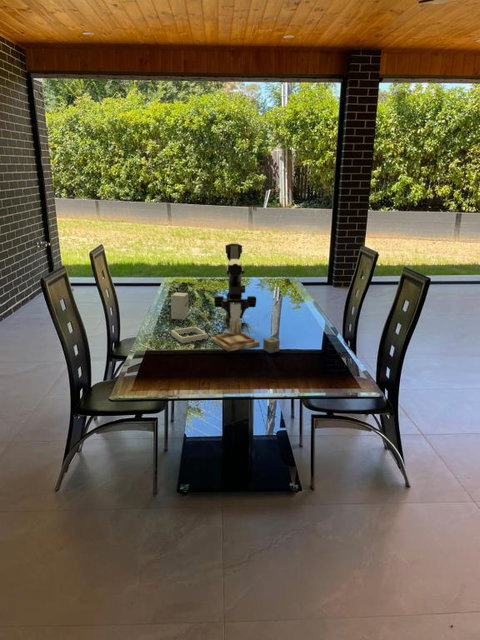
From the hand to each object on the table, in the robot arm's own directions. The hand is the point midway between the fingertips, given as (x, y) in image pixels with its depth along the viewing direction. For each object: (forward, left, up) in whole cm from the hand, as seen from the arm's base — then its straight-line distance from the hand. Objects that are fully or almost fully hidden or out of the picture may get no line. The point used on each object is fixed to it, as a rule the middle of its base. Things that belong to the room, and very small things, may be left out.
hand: (235, 318), depth 225 cm
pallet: (-1, -1, -12) cm, 12 cm away
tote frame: (+14, -18, -12) cm, 26 cm away
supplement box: (+5, -49, -12) cm, 51 cm away
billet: (-1, -1, -7) cm, 7 cm away
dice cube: (-10, +14, -12) cm, 21 cm away
